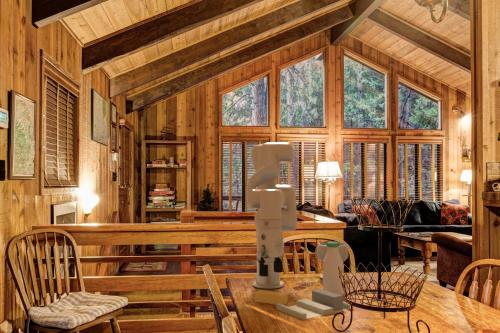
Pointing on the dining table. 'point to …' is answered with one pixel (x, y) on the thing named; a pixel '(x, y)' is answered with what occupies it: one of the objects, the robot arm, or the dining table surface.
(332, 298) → the slate bar
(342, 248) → the chalice
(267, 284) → the robot arm
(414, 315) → the dining table surface
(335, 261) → the milk bottle
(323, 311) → the slot board
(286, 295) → the ochre bar
